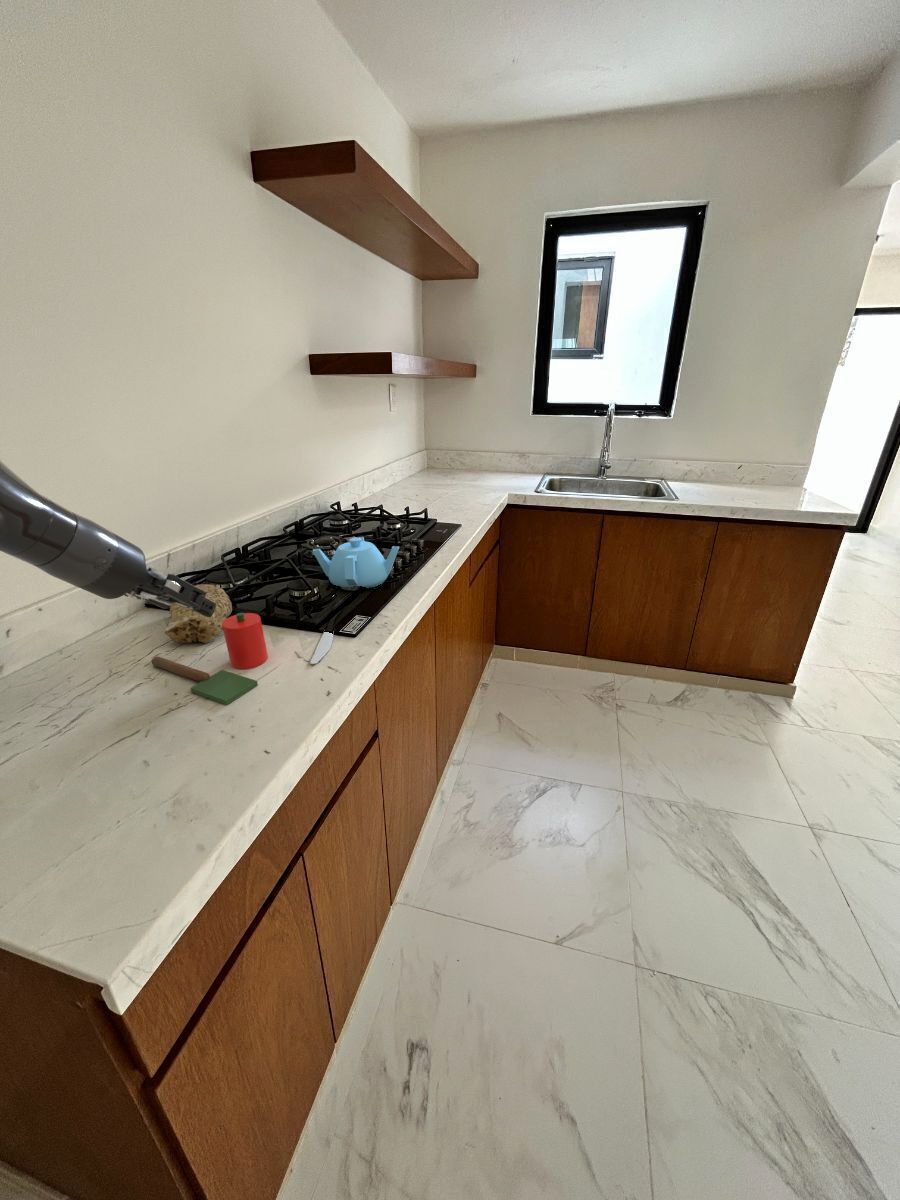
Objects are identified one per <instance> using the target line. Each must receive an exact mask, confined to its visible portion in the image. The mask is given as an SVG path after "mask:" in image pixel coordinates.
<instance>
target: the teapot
mask: <svg viewBox="0 0 900 1200" xmlns="http://www.w3.org/2000/svg"><path fill="white" fill-rule="evenodd" d="M399 549H400V546H397V545H396V546H395V545H393V546H392V547H391V550H390V552H389V553H388V556H387V558H386V559H385V557H384V556H383V554H382V553H381V552H380V550H379V549H378V548H377V546H376V545H375V544H374V543H372V542H369V541H365V537H364V536H359V537H351V538H349V539H348V542H345V543H342V544H340V545H339V546H338V547H337V548H336V549H335V552H334V553H333V555H332V557H331V559H329V558H328V556H327V555H326V554H325V553H324V552H323V551H322V550H321V548H314V549H312V554H313V555H314V556H315V558H316V560H317V562H318V564H319V566H320V568H321V569H322V571H323V573H324V574H325V576H326V577H328V580H329V582H330V583H331V585H333V586H334V585H336V586H340V587H353V586H362V587H366V588H369V587H375V586H378V585H380V584H381V585H383V584H384V582H385V581H386V580H387V579H388V577H389V575H390V573H391V571H392V568H393V565H394V563H395V560H396V557H397V555H398V552H399ZM381 585H380V586H381Z"/></svg>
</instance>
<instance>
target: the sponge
mask: <svg viewBox="0 0 900 1200" xmlns="http://www.w3.org/2000/svg"><path fill="white" fill-rule="evenodd" d="M194 586H195V587H197V588H199V589H201V590H204V591H205V592H206V595H205V598H207V599H208V600H210V601H212V602H214V603H215V604H216V608H215V610H214V612H213V615H212V616H211V617H205V616H203V615H201V614H199V613H197V612H195V611H193V610H191V609H187V608H186V607H183V606H180V605H178V604H173V605H171V606H170V607H169V613H170V617H171V619H170V620H169V622H168V623H167V627H166V628H164V629H165V630H164V634H165V636H167V637H168V638H169V639H173V641H174V642H176V643H190V644H191V643H193V642H194V643H197V642H201V643H202V644H208V643H209V642H211V641H213V640H214V639H215V638H216V637H217V636H218V635H219V634H220V633H222V631H223V627H222V622H223V621H224V620H225V619H227V618H229V617H230V615H231V614H232V611H233V606H232V605H233V604H232V601H231V600H230V597H229V595H228V594H227V593H226V591H225V590H224V589H223V588H222V587H220V586H218V585H214V584H207V583H206V584H205V583H203V584H201V583H200V584H196V585H194Z"/></svg>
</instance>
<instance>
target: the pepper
mask: <svg viewBox="0 0 900 1200" xmlns="http://www.w3.org/2000/svg"><path fill="white" fill-rule="evenodd" d="M222 627H223V628H222V631H223V635H224V640H225V644H226V649H227V652H228V658H229V662H230V665H231V667H232V668H234V669H237V670H249V669H253V668H257V667H259V666H261V665H263V664H265V662H267V660H268V658H269V656H268V655H269V654H268V650H267V645H266V639H265V635H264V630H263V624H262V619H261V616H260V615H259V614H258V613H254V612H253V613H252V612H238V613H236V614H234V615H231V616H228V617H227V618H226V619H225V620H224V621H223V622H222Z"/></svg>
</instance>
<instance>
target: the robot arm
mask: <svg viewBox="0 0 900 1200" xmlns="http://www.w3.org/2000/svg"><path fill="white" fill-rule="evenodd" d="M0 552H2V553H4V554H6V555H8V556H11V557H13V558H15V559H18V560H20V561H22V562H25V563H27V564H28V565H32V566H34V567H36V568H38V569H39V570H41V571H43V572H44V573H46V574H47V575H49V576H51V577H53V578H56V579H58V580H61V581H62V582H65V583H67V584H70V585H72V586H75V587H77V588H79V589H81V590H83V591H86V592H88V593H90V594H92V595H95V596H96V597H97V596H98V597H100V598H103V599H105V600H114V599H118V598H121V597H123V596H124V597H127V598H128V597H129V598H131V599H135V600H138V601H146V602H148V603H150V604H152V605H155V606H157V607H159V608H161V609H165V610H169V609H170V606H171V605H173V604H178V605H180V606H183V607H186V608H187V609H191V610H193V611H195V612H197V613H199V614H201V615H203V616H205V617H211V616H212V615H213V612H214V610H215V608H216V604H215V603H214V602H212V601H210V600H208V599H207V598H205V595H206V592H205V591H204V590H201V589H199V588H197V587H195V586H196V585H193V584H191V583H190V582H188V581H186V580H184V579H182V578H180V577H179V576H176V575H175V574H173V573H172V574H170V573H168V574H167V575H166V574H164V573H162V571H161V570H158V569H155V568H153V567H151V566H149V567H147V564H146V561H147V559H146V556H145V553H144V551H143V550H142V549H141V548H140V547H139V546H137V545H135V544H134V543H133V542H130V541H128V540H127V539H125V538H123V537H122V536H120V535H118V534H116V533H115V532H114V531H111V530H109V529H107V528H106V527H104V526H103V525H100V524H99V523H97V522H95V521H93V520H91V519H89V518H86V517H84V516H81V515H80V514H77V513H75V512H73V511H71V510H69V509H67V508H66V507H64V506H62V505H61V504H59V503H57V502H56V501H53V500H51V499H50V498H48V497H47V496H45V495H43V494H41V493H39V492H38V491H37V490H35V489H34V488H33V487H31V486H30V484H28V483H27V482H26V481H24V480H23V479H22V478H21V477H20V476H19V475H17V473H15V472H14V471H13V470H12V469H10V468H9V466H8V465H6V464H5V463H4V462H3V461H2V460H1V459H0Z"/></svg>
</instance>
